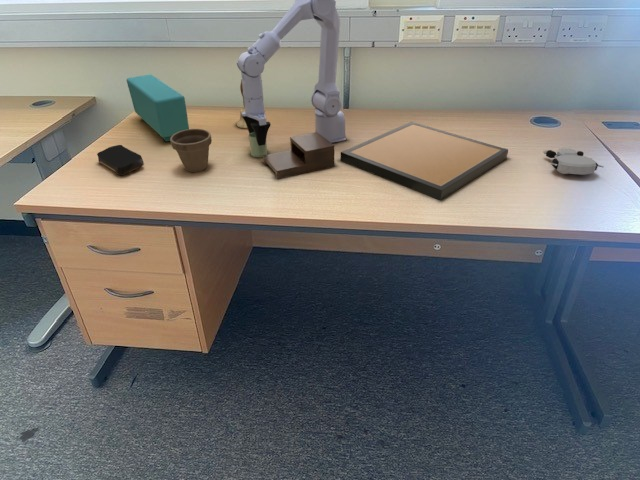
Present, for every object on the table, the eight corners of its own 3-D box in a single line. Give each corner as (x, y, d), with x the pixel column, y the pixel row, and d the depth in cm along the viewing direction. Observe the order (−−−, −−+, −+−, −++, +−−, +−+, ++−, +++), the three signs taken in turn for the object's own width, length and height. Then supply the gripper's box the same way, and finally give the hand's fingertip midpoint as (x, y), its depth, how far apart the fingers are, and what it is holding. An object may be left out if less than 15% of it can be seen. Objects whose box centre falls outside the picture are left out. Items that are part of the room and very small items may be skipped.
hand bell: (232, 125, 165) (226, 80, 156) (249, 118, 170) (244, 75, 161) (247, 130, 161) (242, 84, 152) (264, 123, 166) (260, 78, 157)
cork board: (506, 158, 138) (410, 129, 159) (508, 149, 136) (411, 121, 157) (440, 200, 117) (340, 160, 138) (442, 190, 116) (340, 152, 137)
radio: (195, 139, 154) (187, 95, 146) (165, 146, 150) (155, 101, 141) (162, 112, 178) (154, 73, 169) (135, 118, 173) (125, 77, 165)
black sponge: (147, 168, 136) (145, 157, 134) (120, 178, 131) (117, 166, 129) (122, 154, 146) (119, 143, 143) (96, 162, 141) (92, 151, 139)
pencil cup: (264, 149, 146) (262, 130, 143) (269, 155, 143) (267, 135, 139) (248, 152, 145) (246, 133, 141) (254, 158, 141) (251, 138, 137)
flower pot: (202, 178, 130) (196, 145, 124) (168, 173, 133) (161, 140, 128) (223, 162, 139) (218, 130, 133) (191, 157, 142) (185, 126, 136)
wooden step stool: (317, 151, 144) (317, 131, 140) (334, 166, 135) (334, 145, 131) (263, 163, 138) (261, 142, 134) (277, 179, 129) (275, 157, 125)
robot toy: (538, 159, 138) (553, 178, 125) (542, 145, 136) (557, 162, 123) (581, 161, 137) (600, 180, 124) (585, 146, 134) (605, 164, 122)
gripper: (233, 91, 137) (238, 135, 145) (247, 105, 127) (252, 151, 134) (255, 88, 140) (259, 131, 148) (271, 101, 129) (275, 147, 137)
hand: (257, 140), depth 141 cm, fingers open, 7 cm apart
